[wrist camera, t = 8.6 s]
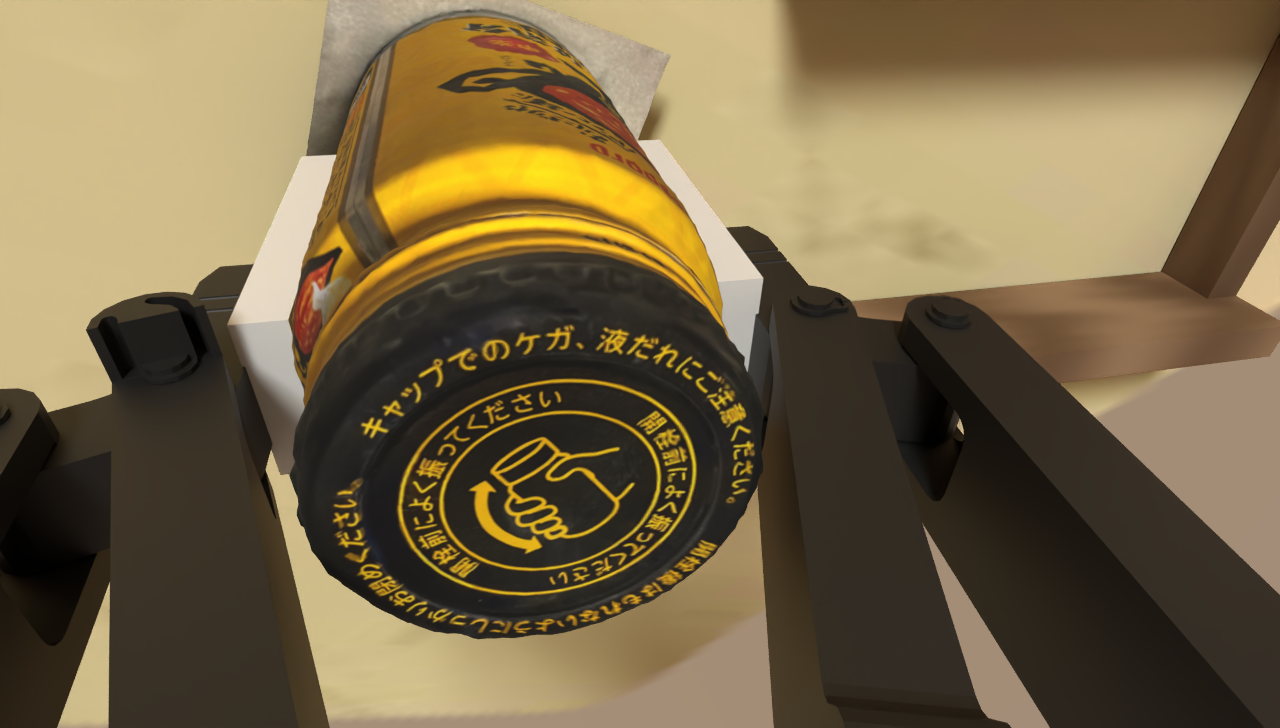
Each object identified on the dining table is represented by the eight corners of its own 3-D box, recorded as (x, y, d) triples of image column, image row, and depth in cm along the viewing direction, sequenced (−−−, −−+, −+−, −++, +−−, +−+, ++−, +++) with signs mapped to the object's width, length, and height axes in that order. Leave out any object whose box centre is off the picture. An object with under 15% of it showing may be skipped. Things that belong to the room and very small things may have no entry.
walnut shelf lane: (723, 344, 24) (765, 420, 21) (778, -151, 16) (859, -150, 13) (1174, 297, 27) (1269, 356, 24) (1396, -129, 20) (1579, -125, 17)
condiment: (668, 52, 17) (960, 312, 8) (561, 346, 21) (663, 756, 12) (338, -71, 14) (142, 92, 5) (287, 293, 18) (126, 777, 9)
